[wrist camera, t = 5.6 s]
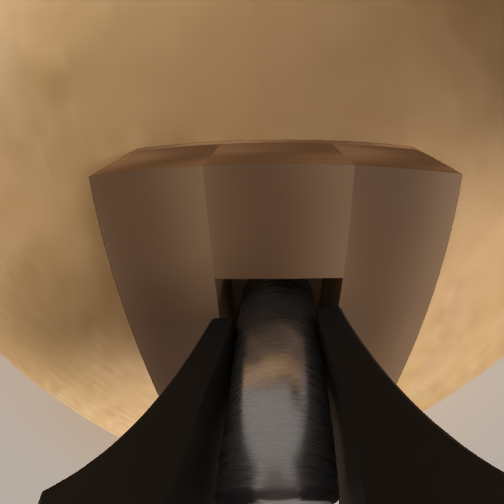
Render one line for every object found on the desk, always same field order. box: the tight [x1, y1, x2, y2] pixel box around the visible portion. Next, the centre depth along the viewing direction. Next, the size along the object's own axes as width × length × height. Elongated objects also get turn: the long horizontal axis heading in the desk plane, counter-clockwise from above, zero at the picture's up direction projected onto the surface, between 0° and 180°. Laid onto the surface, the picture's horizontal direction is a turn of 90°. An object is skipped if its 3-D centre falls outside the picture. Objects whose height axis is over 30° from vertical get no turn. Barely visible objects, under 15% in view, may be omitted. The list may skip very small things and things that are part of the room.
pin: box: [214, 278, 340, 504], centre depth 8 cm, size 2×2×7 cm
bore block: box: [89, 140, 462, 396], centre depth 11 cm, size 10×10×4 cm
